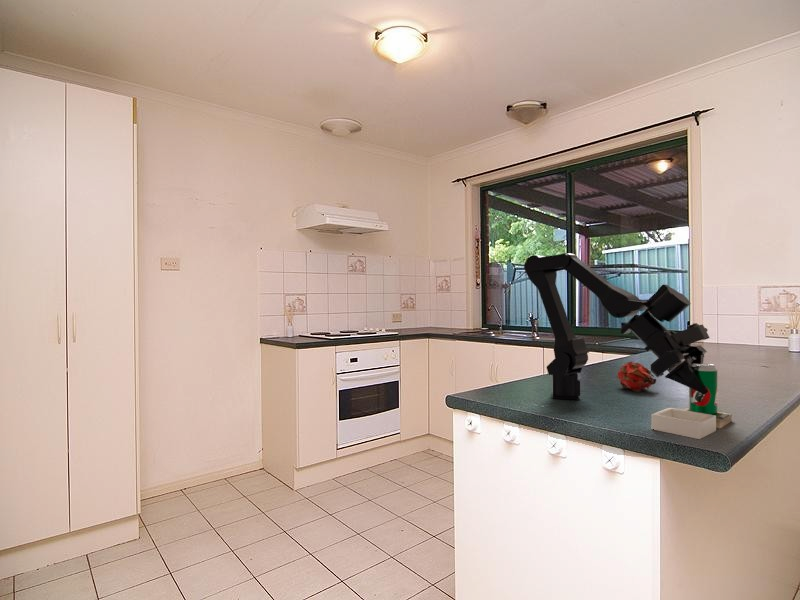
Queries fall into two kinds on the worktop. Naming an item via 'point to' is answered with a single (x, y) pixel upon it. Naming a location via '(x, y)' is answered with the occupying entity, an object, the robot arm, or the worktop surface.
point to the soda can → (709, 400)
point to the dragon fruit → (635, 376)
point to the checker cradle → (721, 419)
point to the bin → (683, 422)
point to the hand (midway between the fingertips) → (710, 391)
